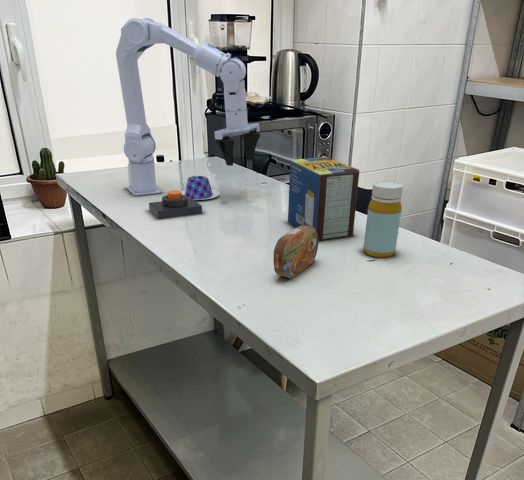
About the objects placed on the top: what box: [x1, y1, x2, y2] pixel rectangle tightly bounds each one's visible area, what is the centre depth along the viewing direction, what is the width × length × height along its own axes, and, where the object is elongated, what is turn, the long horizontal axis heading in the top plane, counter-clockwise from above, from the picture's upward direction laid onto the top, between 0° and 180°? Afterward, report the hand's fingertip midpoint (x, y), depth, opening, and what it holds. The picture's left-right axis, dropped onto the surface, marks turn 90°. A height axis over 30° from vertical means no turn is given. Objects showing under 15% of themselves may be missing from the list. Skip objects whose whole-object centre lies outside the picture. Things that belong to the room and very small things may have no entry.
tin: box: [273, 226, 319, 279], centre depth 109 cm, size 15×3×8 cm, turn 148°
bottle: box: [363, 180, 404, 258], centre depth 117 cm, size 7×7×15 cm
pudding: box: [180, 175, 220, 201], centre depth 155 cm, size 12×12×5 cm
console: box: [148, 194, 203, 220], centre depth 142 cm, size 12×8×4 cm, turn 116°
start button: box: [166, 189, 182, 200], centre depth 141 cm, size 4×4×2 cm
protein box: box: [287, 156, 360, 242], centre depth 129 cm, size 10×15×16 cm
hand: (240, 162), depth 151 cm, fingers open, 7 cm apart
